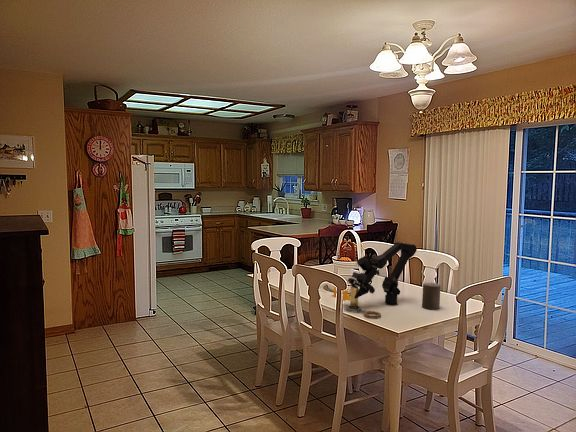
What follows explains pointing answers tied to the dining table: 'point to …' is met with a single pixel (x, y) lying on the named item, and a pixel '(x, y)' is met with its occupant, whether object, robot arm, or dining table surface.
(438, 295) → the pillar candle
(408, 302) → the dining table surface
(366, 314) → the stand collar
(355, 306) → the sleeve
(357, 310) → the hub
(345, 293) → the pipe clamp
